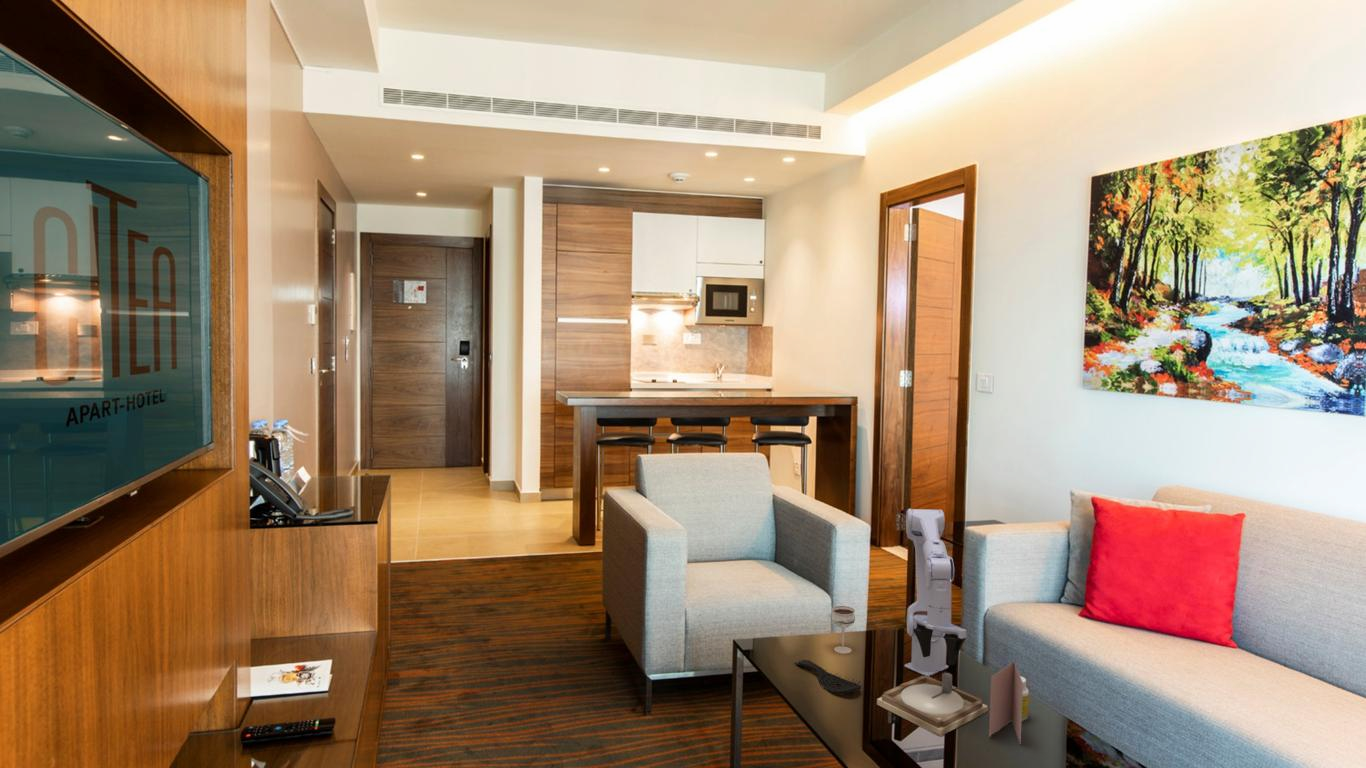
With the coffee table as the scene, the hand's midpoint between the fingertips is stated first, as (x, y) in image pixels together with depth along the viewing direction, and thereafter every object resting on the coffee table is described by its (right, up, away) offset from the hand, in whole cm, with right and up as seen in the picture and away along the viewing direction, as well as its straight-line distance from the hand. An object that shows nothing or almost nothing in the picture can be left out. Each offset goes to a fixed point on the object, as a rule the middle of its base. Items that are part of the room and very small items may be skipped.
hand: (938, 660), depth 208 cm
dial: (-2, -10, 0) cm, 11 cm away
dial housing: (-2, -12, 0) cm, 12 cm away
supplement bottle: (+18, -13, -4) cm, 22 cm away
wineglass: (-18, -9, +34) cm, 39 cm away
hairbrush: (-26, -11, +16) cm, 32 cm away
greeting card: (+14, -13, -12) cm, 23 cm away
